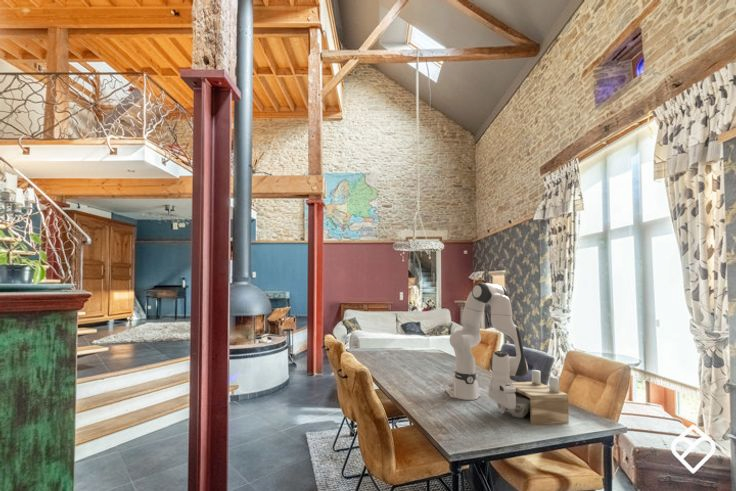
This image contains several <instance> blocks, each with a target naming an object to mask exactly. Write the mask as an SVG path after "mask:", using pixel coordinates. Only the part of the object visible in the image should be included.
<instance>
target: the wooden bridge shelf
mask: <svg viewBox="0 0 736 491" xmlns="http://www.w3.org/2000/svg"><path fill="white" fill-rule="evenodd" d="M510 382H511V383H512V384H513V386H514V387H515V388H516V392H514V393H515V395H516V397H519V398H524V399H527V400H530V410H529V412H530V413H529V414H530V424H531V425H532V426H533V425H546V424H547V425H548V424H550V425H552V424H553V425H554V424H566V423H569V422H570V421H569V418H570V416H569V415H570V413H569V394H568V393H565V391H561V390H559V393H553V392H550V391H549V385H547V384H544V383H542V382H541V385H534V384H532V381H513V382H512V381H510ZM505 410H508V409H507V408H505Z"/></svg>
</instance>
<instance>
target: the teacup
mask: <svg viewBox="0 0 736 491" xmlns="http://www.w3.org/2000/svg"><path fill="white" fill-rule="evenodd" d="M504 412H507V413H510V415H511V416H512V417H515V418H517V419H518V418H519V419H522V418H525V416H527V415H528V413H529V412H530V400H527V399H524V398H519V397H516V407H515V409H508V408H507V409H505V410H504Z"/></svg>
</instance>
